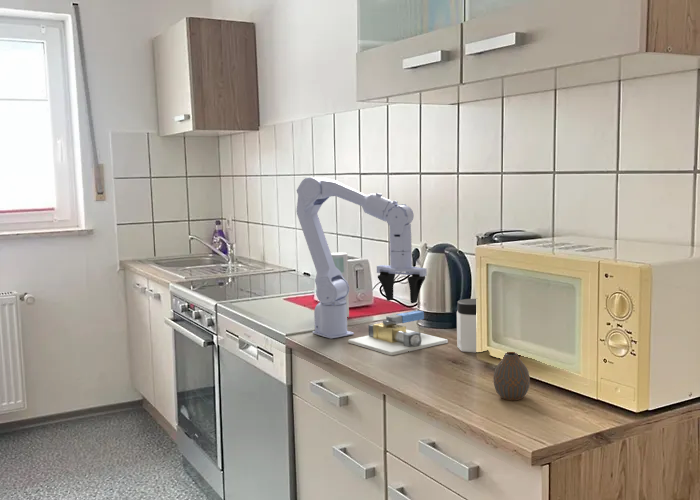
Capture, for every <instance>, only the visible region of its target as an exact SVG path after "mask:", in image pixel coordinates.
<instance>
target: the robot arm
mask: <svg viewBox="0 0 700 500" xmlns="http://www.w3.org/2000/svg"><path fill="white" fill-rule="evenodd" d="M296 193H297V204H296V205H297V206H296V215H297V218H298V221H299V225H300V227H301V229H302V233H303V235H304V239H305V242H306V245H307V247H308V250H309V253H310V256H311V259H312V261H313V265H314V267H315V270H316V276H315V279H314V284H315V285H316V289H315V293H316V294H315V295H316V298H317V300H318V301H319V302H318V303H317V304H316V305H315V307H314V313H313V314H314V317H313V319H314V330H312V334H314V335H318V336H321V337H324V338H326V339H332V340H333V339H337V338H343V337H348V336H352V335H354V334H355V332H352V331H349V330H348V318H347V307H346V296H347V295H348V296H349V293H350V285H349V281H348V282H347V281H346V280H345V279H344V278H343V276H342V273H341V271H340V270H339V269H337V268H336V267H335V264H334V261H333V258H332V255H331V253H332V252H331V250H330V247H329V243H328V241H327V239H326V235H325V233H324V229H323V226H322V224H321V220H320V218H319V214H318V212H319V211H320V209H321V207H322V205H323V204H324V203H325V202H326V201H327V200H328V199H329V198H330V197H331V198H332V197H337V198H340V199H342V200H345V201H348V202H350V203H353V204H355V205H358V206H360V207H361V208H362V210H363V212H364V214H367V215H369V216H372V217H374V218H376V219H379V220H381V221H382V222H386V223H387V225H388V226H389V264H390V265H388V264H387V265H385V264H380V265H376V273H377V274H378V275H377V279H378V280H379V282H380V284H381V286H382V289H383V291H384V296H385V298H386V301H389V302H390V301H393V299H394V283H395V278H396V277H395V276H396V275H404V276H407V278H406V279H407V282H408V285H409V300H410V303H411V304H415V303H418V299H419V295H420V294H419V293H420V291H421V288H422V286H423V283H424V282H425V280H426V276H427V273H428V272H427V268H426V267H418V266H413V260H412V259H413V257H412V255H413V253H412V250H413V249H412V248H413V247H412V246H413V245H412V224H411V223H412V222H413V220H414V212H413V210H412V208H411V207H410V206H409V205H407V204H406V203H402V204H398V201H397V200H396V199H394V200H391V199H389V198H386V197H384V196H383V193H380V192H376V193H375V192H371V193H369V194H365V193H363V192H361V191H359V190H357V189H355V188H353V187H350V186H349V185H346V184H344V183H342V182H340V181H338V180H336V179H331V178H328V177H326V176H319V177H313V176H311V177H310V176H309V177H305V178H304V179H302V180H301V182H300V183H299V185H298V187H297V189H296Z"/></svg>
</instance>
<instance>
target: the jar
mask: <svg viewBox="0 0 700 500" xmlns="http://www.w3.org/2000/svg"><path fill="white" fill-rule="evenodd" d="M476 299H477V298H465V299H460V300H458V301H457V311H456V343H457V344H456V346H457V348H458V349H459V350H460V351H461V352H462V353H463V352H464V353H475V354H477V353H476Z"/></svg>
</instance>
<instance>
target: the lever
mask: <svg viewBox="0 0 700 500" xmlns="http://www.w3.org/2000/svg"><path fill="white" fill-rule="evenodd" d="M385 318H386V319H383V320H382V323H383V325H385V326H393V325H396V324H397V325H400V324H404V323H411V322H416V321H422V320H424V319H425V312H424V311H422V310H417V309H416V310H412V311H407V312H406V311H405V312H402V313H396V314H393V315H388V316H386V317H385Z"/></svg>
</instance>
